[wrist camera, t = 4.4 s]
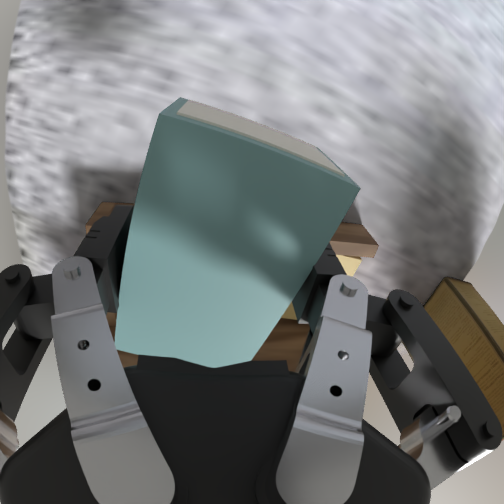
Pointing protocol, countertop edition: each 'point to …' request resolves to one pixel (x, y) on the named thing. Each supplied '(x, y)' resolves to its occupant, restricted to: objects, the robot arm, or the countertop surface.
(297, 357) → the book rack
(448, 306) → the food packaging
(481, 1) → the countertop surface
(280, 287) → the book block
